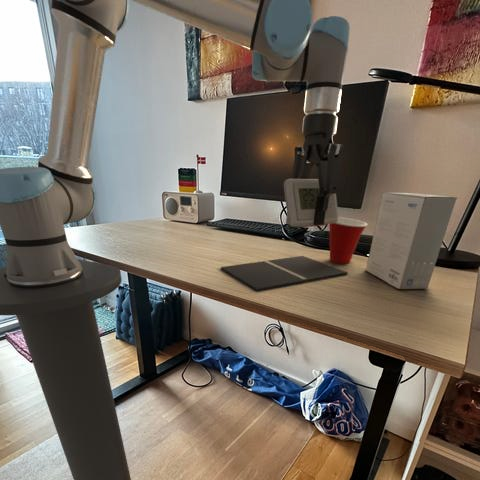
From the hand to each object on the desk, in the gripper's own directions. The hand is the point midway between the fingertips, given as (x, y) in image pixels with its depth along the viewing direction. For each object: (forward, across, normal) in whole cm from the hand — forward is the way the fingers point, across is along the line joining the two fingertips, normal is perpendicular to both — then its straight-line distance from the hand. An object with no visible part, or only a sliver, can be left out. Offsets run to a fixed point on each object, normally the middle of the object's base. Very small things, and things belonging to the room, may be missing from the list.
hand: (308, 222), depth 77 cm
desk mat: (+12, 0, +7) cm, 14 cm away
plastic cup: (+12, +1, -15) cm, 20 cm away
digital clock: (+1, -1, 0) cm, 1 cm away
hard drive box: (+12, -17, -15) cm, 26 cm away
